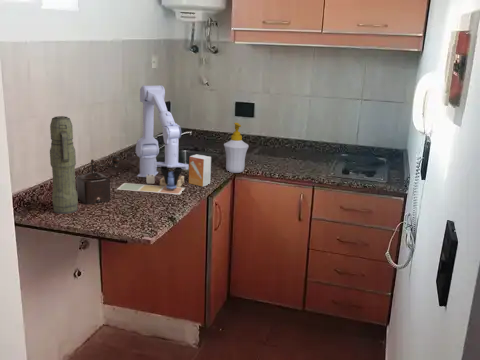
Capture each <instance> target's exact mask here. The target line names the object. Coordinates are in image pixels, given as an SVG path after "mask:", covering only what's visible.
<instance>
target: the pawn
mask: <svg viewBox="0 0 480 360" xmlns="http://www.w3.org/2000/svg"><path fill="white" fill-rule="evenodd" d="M167 176H168V177H167V185H166V188H167V189H176V185H175V184H174V182H175V174H174V170H170V171H169V172H168V174H167Z"/></svg>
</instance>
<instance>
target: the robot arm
mask: <svg viewBox="0 0 480 360" xmlns="http://www.w3.org/2000/svg"><path fill="white" fill-rule="evenodd" d="M165 97H166V90H165V87H164V86H163V85H162V84H159V85H144V84H142V86H141V87H140V89H139V102H140V103H142V137H140V138H139V139H138V140H137V141H136V146H135V154H136V156H137V157H138V158H139V173H138V174H137V175H136V177H138V178H139V177H141V178H146V175H148V174H154V176H155V177H156V176H157V175H158V174H159V171H158V170H157V169H158V168H160V171H161V173H162V175H163V176H164V179H165V183H166V184H167V177H168V176H167V174H168V172H170V171H169V170H170V169H174V170H173V172H174V174H175V182H174V184H175V185H177V181H178V178H179V176H181V172H182V170H185V171H187V170H188V171H189V163H182V162H179V144H180V143H179V140H180V139H181V137H182V128H181V125H179V124H178V123H176V122H175V119H174V117H173V114H172V113H171V112H170V111H168V108H167V105H166V102H165ZM155 108H156V110H157V112H158V119H159V122H160V125H161V127H162V137H163V143H164V161H157V156H158V155H159V153H160V147H159V141H158V139H156V138H155V137H154V126H155V125H154V120H155V118H154V117H155V116H154V114H155V111H154V110H155ZM163 176H162V177H163Z"/></svg>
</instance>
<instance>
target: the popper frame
mask: <svg viewBox="0 0 480 360" xmlns="http://www.w3.org/2000/svg"><path fill="white" fill-rule="evenodd" d="M184 183H185V175H179V178H178V181H177V185H176V187H181V188H182V186H183V184H184ZM166 185H167V184H166V183H165V179H164V176H162V177H161V178H160V179H159V186H166Z"/></svg>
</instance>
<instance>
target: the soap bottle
mask: <svg viewBox="0 0 480 360" xmlns="http://www.w3.org/2000/svg"><path fill="white" fill-rule="evenodd" d="M233 124H234V130H235V131H233V132H232V133H233V134H231V136H230V140H228V141H227V142H224V143H223V146H224V150H225V158H226V159H225V168H226V169H225V170H226V171H227V172H228V171H229V172H228V173H233V174H239V173H242V172H244V171H245V166H246V165H245V163H246V162H245V161H246V160H245V159H246V155H247V151H248V149H249V143H247V142H244V141H243V136H242V134H241V132H240V131H239V130H240V128H242V125H241V124H240V123H239V122H234V123H233Z"/></svg>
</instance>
